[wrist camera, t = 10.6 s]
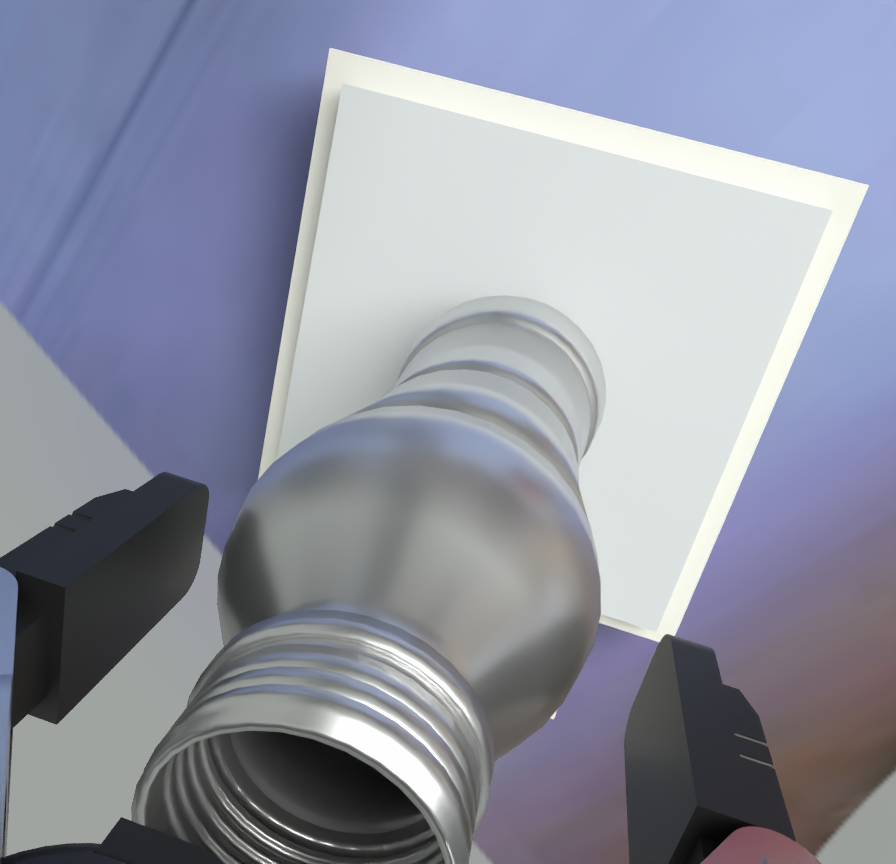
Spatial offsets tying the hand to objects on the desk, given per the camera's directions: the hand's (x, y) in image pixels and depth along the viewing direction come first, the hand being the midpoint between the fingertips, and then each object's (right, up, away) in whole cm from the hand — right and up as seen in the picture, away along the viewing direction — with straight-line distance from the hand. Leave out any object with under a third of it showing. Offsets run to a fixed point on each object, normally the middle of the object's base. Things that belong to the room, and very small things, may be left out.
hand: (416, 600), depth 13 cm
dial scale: (+3, +5, +19) cm, 20 cm away
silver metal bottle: (+3, +5, +14) cm, 15 cm away
